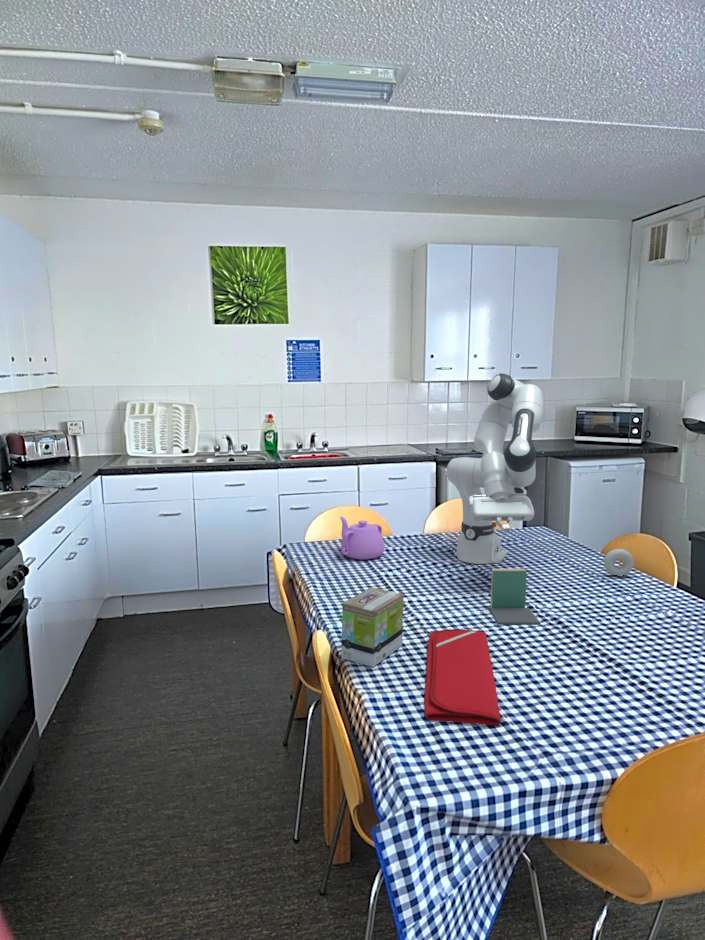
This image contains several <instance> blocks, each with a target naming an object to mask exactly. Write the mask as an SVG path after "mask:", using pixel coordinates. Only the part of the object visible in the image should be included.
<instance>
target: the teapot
mask: <svg viewBox="0 0 705 940" xmlns="http://www.w3.org/2000/svg"><path fill="white" fill-rule="evenodd" d="M339 518H340V520H341V523H342V525H341V528H342V529H341V544H340V551H341V552H340V553H341V554H342V555H345V557H347V558H349V559H353V560H355V559H356V560H361V561H365V560H370V559H377V558H379V557H380V556H382V554H383V553H384V552H385V550H386V546H385V545H386V544H385V541H384V538H383V535H382V533H383V527H382V526H381V525H380V524H378V523H375V524H372V523H371V524H370V523H368V520H358V523H354V524H352V525H350V526H348V525H349V524H348V522H347V519H346V518H345V517H344V516H339Z"/></svg>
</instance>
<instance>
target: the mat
mask: <svg viewBox="0 0 705 940" xmlns="http://www.w3.org/2000/svg"><path fill="white" fill-rule="evenodd" d="M489 612H490V614H491V615H492V617H493V619H494V621H495V623H496V624H497V625H541V624H540V621H539V619H538V618H537V616H536V615H535V613H534V612H533V611H532V609H531V608H530V607H525V608H491V607H489Z"/></svg>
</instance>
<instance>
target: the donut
mask: <svg viewBox="0 0 705 940" xmlns="http://www.w3.org/2000/svg"><path fill="white" fill-rule="evenodd" d="M633 557H634V556H632V554H631V553H630V552H629V551H628V550H626V549H624V548H615V549H612V550H610V551H609V552H607V554H606V555H605V557H604V560H603V566H604V569H605V571H606V572H607V573H608V574H609V575H611V574H612V575H611V576H613V575H619V577H622V576H621V575H624V576H626V575H628V574H629V573H630V572H631V571H632V570H633V568H634V564H635V561H634V558H633ZM618 559H621V560H622V561H623V562H622V565H620V566H616V565H615V561H616V560H618Z"/></svg>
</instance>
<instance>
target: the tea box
mask: <svg viewBox="0 0 705 940" xmlns="http://www.w3.org/2000/svg"><path fill="white" fill-rule="evenodd" d="M341 611H342V613H341V615H342V617H341V655H340V656H341V658H342V659H344V660H347V661H350V662H354V663H357V664H360V665H364V666H367V667H371V668H374V667H375V666H377V665H378V664H380V663H381V662H382V661H383V660H385V659H386V658H388V657H389V656H390V655H392V654H393V653H394V652H395V651H397V650H399V648H401V647H402V646H403V631H404V630H403V629H404V628H403V627H404V620H403V619H404V593H400V592H395V591H390V590H387V589H381V588H377V587H370V588H368V589H366V590H364V591H363V592H361V593H359V594H358V595H356V596H354V597H352V598H350V599H348V600H347V601H344V602H342V610H341Z"/></svg>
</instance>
